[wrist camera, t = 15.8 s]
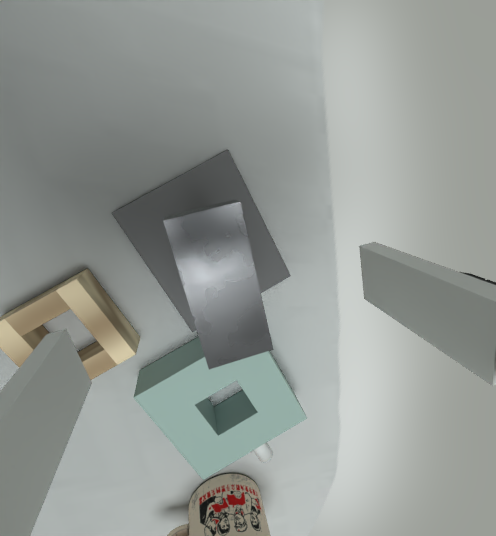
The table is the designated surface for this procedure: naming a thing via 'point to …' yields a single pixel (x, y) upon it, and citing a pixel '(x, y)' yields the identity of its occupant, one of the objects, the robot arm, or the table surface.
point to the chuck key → (220, 281)
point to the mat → (188, 198)
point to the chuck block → (217, 406)
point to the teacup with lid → (225, 509)
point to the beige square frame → (86, 309)
